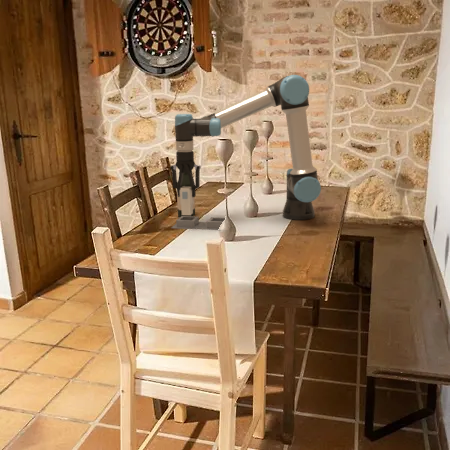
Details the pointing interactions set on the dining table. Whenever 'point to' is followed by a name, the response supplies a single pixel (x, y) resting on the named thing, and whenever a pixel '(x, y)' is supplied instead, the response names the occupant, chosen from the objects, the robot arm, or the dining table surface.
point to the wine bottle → (184, 184)
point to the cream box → (186, 201)
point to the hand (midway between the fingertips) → (186, 203)
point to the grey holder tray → (198, 223)
